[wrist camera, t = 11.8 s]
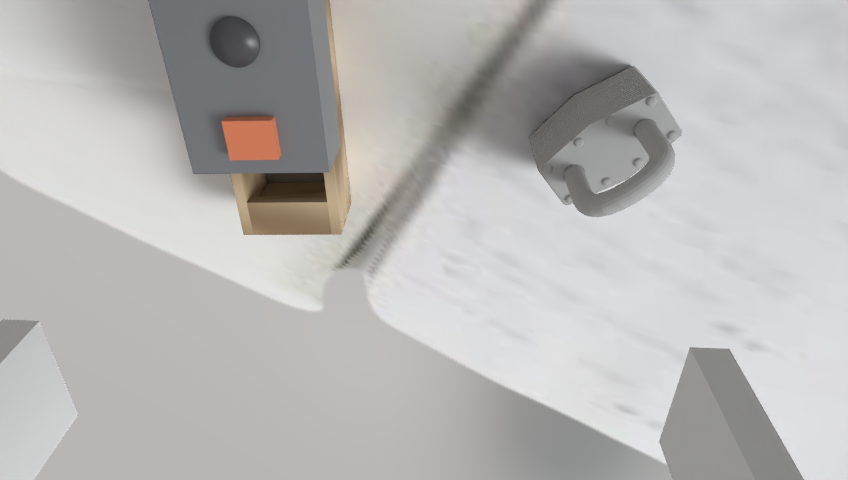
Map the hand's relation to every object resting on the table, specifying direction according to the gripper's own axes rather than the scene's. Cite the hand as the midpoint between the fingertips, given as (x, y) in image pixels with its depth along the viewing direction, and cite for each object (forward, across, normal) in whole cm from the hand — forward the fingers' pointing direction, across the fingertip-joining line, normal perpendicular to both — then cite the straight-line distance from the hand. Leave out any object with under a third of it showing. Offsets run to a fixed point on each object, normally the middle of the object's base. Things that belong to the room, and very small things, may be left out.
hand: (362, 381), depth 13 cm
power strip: (+24, -8, +4) cm, 26 cm away
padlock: (+26, +10, -4) cm, 28 cm away
